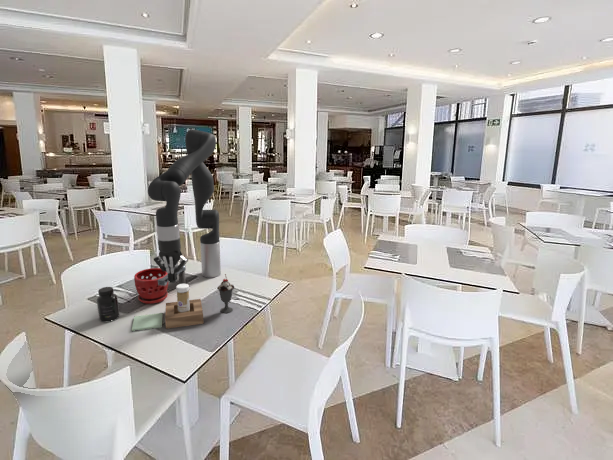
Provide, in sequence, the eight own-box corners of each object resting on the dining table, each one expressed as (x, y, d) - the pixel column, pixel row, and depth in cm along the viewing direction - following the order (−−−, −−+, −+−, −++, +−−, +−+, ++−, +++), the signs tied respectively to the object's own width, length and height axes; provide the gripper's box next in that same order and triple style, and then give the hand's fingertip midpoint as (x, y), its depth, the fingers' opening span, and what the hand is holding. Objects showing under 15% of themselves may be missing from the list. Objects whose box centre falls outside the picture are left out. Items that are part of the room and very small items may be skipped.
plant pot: (129, 302, 150) (126, 275, 147) (155, 290, 161) (153, 265, 158) (151, 309, 144) (148, 282, 141) (176, 297, 155) (174, 271, 152)
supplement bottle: (100, 315, 138) (96, 286, 135) (120, 312, 141) (116, 284, 138) (98, 323, 132) (94, 294, 129) (118, 320, 135) (115, 291, 132)
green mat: (134, 318, 137) (134, 316, 137) (162, 314, 140) (162, 312, 140) (131, 331, 128) (131, 329, 127) (161, 327, 131) (161, 325, 131)
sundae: (228, 304, 149) (227, 271, 145) (238, 310, 145) (237, 276, 141) (214, 309, 145) (213, 275, 141) (223, 315, 140) (222, 280, 136)
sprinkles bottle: (176, 320, 136) (174, 287, 133) (180, 314, 140) (178, 282, 137) (188, 320, 136) (186, 288, 132) (192, 315, 140) (190, 283, 137)
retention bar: (179, 268, 145) (179, 264, 144) (187, 269, 144) (186, 264, 144) (157, 285, 129) (156, 279, 129) (165, 285, 129) (165, 280, 128)
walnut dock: (166, 305, 147) (164, 270, 143) (200, 301, 152) (198, 267, 148) (165, 328, 130) (162, 289, 126) (203, 323, 134) (201, 285, 130)
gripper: (191, 235, 129) (194, 279, 134) (157, 233, 132) (162, 276, 136) (180, 241, 122) (184, 287, 127) (145, 238, 125) (150, 284, 129)
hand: (173, 281), depth 132 cm, fingers closed
